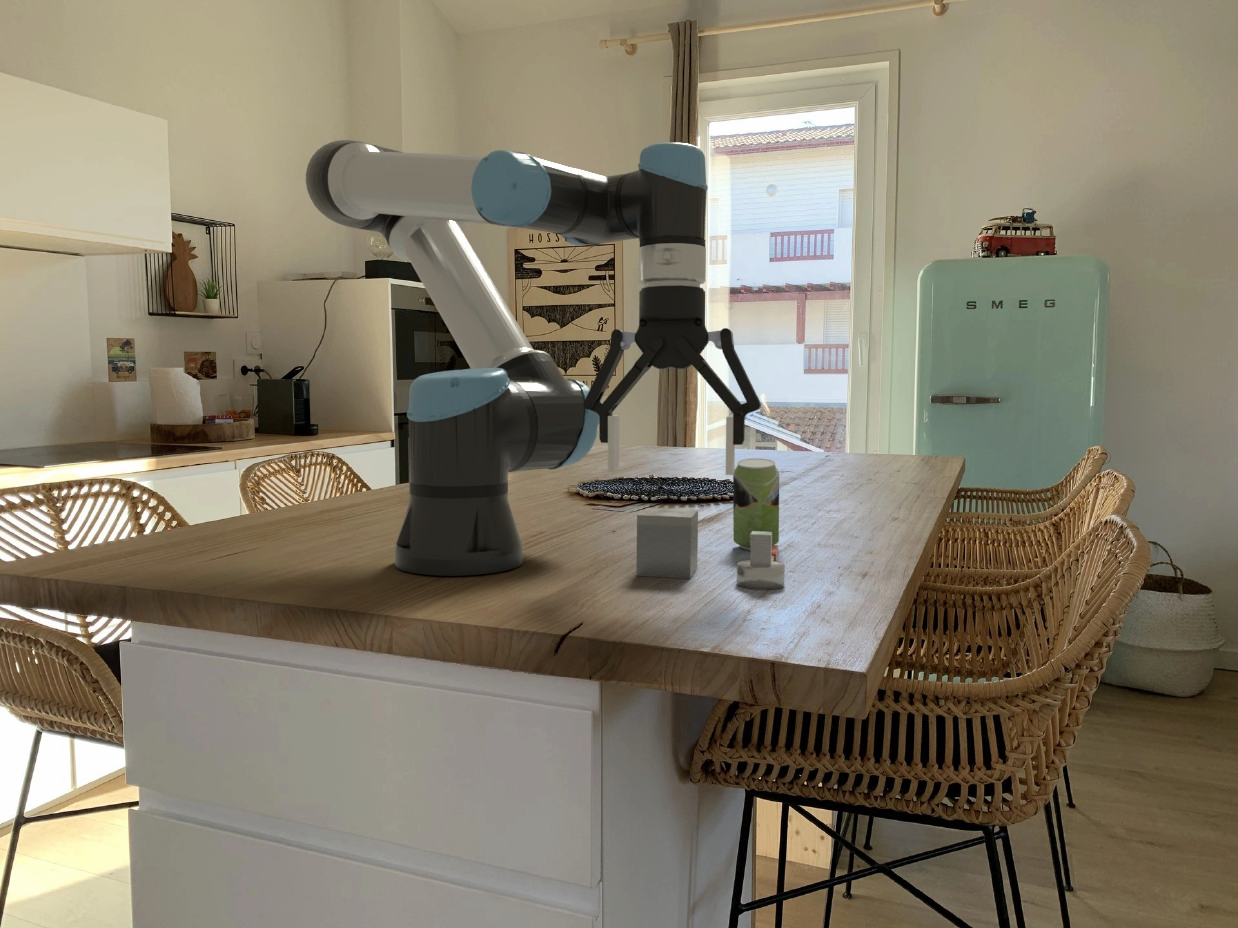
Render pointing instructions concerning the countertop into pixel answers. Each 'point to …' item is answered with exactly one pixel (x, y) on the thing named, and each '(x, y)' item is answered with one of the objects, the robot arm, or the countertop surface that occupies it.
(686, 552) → the brushed steel cube
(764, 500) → the beverage can
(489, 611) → the countertop surface
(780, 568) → the ratchet
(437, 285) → the robot arm
